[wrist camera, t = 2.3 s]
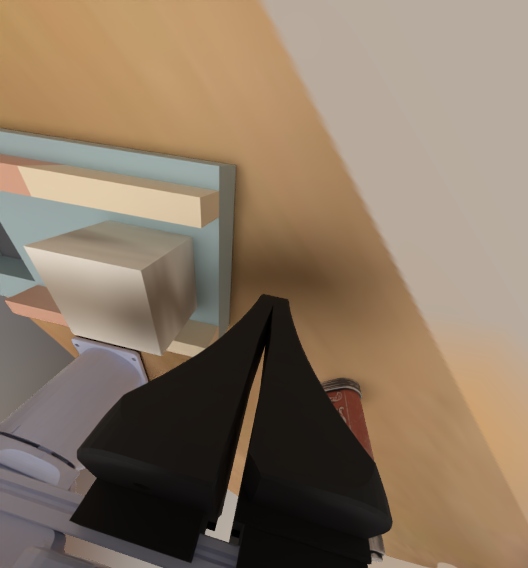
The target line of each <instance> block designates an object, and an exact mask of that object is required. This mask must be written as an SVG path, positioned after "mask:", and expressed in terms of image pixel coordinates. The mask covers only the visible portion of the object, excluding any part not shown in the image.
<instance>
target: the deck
mask: <svg viewBox="0 0 528 568" xmlns="http://www.w3.org/2000/svg"><path fill="white" fill-rule="evenodd" d="M235 178H236V165H232V164H225V163H219V162H213V161H206V160H200V159H194V158H187V157H181V156H175V155H168V154H162V153H156V152H149V151H143V150H137V149H130V148H124V147H117V146H111V145H105V144H98V143H92V142H86V141H79V140H73V139H67V138H60V137H54V136H48V135H41V134H35V133H29V132H22V131H16V130H9V129H3V128H0V295H3V296H7V297H10V298H8V299H6V300H5V302H6V303H7V304H8V306H9V307H10V308H11V310H12V311H13V313H15V314H19V315H23V316H27V317H31V318H35V319H39V320H43V321H47V322H52V323H56V324H60V325H64V326H68V324H67V322H66V321H65V319H64V317H63V315H62V314H61V312H60V310H59V308H58V306H57V305H56V303H55V301H54V299H53V298H52V296H51V294H50V292H49V291H48V289H47V287H46V285H45V284H44V282H43V280H42V278H41V276H40V275H39V273H38V271H37V269H36V268H35V266H34V264H33V262H32V261H31V259H30V257H29V255H28V254H27V252H26V250H25V248H24V245H28V244H31V243H34V242H38V241H41V240H44V239H48V238H51V237H54V236H58V235H61V234H64V233H68V232H71V231H74V230H78V229H81V228H84V227H88V226H91V225H94V224H98V223H101V222H104V221H108V220H109V221H114V222H119V223H124V224H129V225H135V226H140V227H145V228H150V229H156V230H161V231H166V232H171V233H176V234H182V235H187V236H192V238H193V252H194V266H195V280H196V294H197V307H198V308H197V309H196V310H195V312H194V313H193V314H192V316H191V317H190V318H189V320H188V321H187V322H186V324H185V325H184V326H183V328H182V329H181V331H180V332H179V333H178V335H177V336H176V337H175V339H174V340H173V341H172V343H171V344H170V345H169V347H168V348H167V349H166V351H170V352H174V353H178V354H182V355H186V356H191V357H194V356H195V355H197V354H198V353H200V352H201V351H203V350H204V349H206V348H207V347H208V346H210V345H211V344H213V343H214V342H215V341H216V340H218V339H219V338H220V337H222V336H223V335H224V334H225V332H226V330H227V328H228V326H229V318H230V294H231V271H232V248H233V224H234V201H235ZM68 327H69V326H68Z"/></svg>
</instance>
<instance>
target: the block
mask: <svg viewBox="0 0 528 568" xmlns="http://www.w3.org/2000/svg"><path fill="white" fill-rule="evenodd" d="M24 248H25V250H26V252H27V254H28V255H29V257H30V259H31V261H32V262H33V264H34V266H35V268H36V269H37V271H38V273H39V275H40V276H41V278H42V280H43V282H44V284H45V285H46V287H47V289H48V291H49V292H50V294H51V296H52V298H53V299H54V301H55V303H56V305H57V306H58V308H59V310H60V312H61V314H62V315H63V317H64V319H65V321H66V322H67V324H68V326H69V328H70V329H71V331H72V333H73V334H74V335H78V336H82V337H86V338H90V339H94V340H98V341H102V342H106V343H110V344H114V345H118V346H123V347H127V348H131V349H135V350H139V351H143V352H147V353H151V354H155V355H159V356H162V355H163V353H164V352H165V351H166V349H167V348H168V347H169V345H170V344H171V343H172V341H173V340H174V339H175V337H176V336H177V335H178V333H179V332H180V331H181V329H182V328H183V326H184V325H185V324H186V322H187V321H188V320H189V318H190V317H191V316H192V314H193V313H194V312H195V310H196V309H197V308H198V307H197V294H196V280H195V266H194V252H193V238H192V236H187V235H182V234H176V233H171V232H166V231H161V230H156V229H150V228H145V227H140V226H135V225H129V224H124V223H119V222H114V221H109V220H108V221H104V222H101V223H98V224H94V225H91V226H88V227H84V228H81V229H78V230H74V231H71V232H68V233H64V234H61V235H58V236H54V237H51V238H48V239H44V240H41V241H38V242H34V243H31V244H28V245H24Z"/></svg>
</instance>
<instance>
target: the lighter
mask: <svg viewBox="0 0 528 568" xmlns="http://www.w3.org/2000/svg"><path fill="white" fill-rule="evenodd" d="M320 384H321V385H322V387H323V388H324V390H325V392H326V393H327V395H328V397H329V398H330V400H331V401H332V403H333V405H334V406H335V408H336V409H337V411H338V412H339V414H340V415H341V417H342V418H343V420H344V421H345V423H346V424H347V425H348V427H349V428H350V430H351V431H352V432H353V434H354V435H355V437H356V438H357V439H358V441H359V442H360V443H361V445H362V446H363V447H364V449H365V450H366V451H367V453H368V454H369V455H370V457H371V458H372V459H373V461H374V457H373V453H372V449H371V444H370V440H369V435H368V431H367V427H366V422H365V418H364V413H363V409H362V405H361V398H362V395H361V391H360V387H359V384H358V383H357V382H355V381H354V380H352V379H349V378H339V379H334V380H330V381H326V382H322V383H320ZM369 545H370V551H371V557H372V561H378V562H383V559H382V556H386V555H385V550H384V545H383V540H382V535H378V536H375V537H372V538H369Z"/></svg>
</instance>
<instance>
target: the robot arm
mask: <svg viewBox="0 0 528 568" xmlns="http://www.w3.org/2000/svg"><path fill="white" fill-rule="evenodd" d="M72 342H73V344H74V346H75V348H76V349H77V351H78V353H79V354H80V355H79V356H78V357H77V358H76V359H75V360H74V361H73V362H71V363H70V364H69V365H68V366H67V367H66V368H64V369H63V370H62V371H61V372H60V373H59V374H58V375H56V376H55V377H54V378H53V379H52V380H50V381H49V382H48V383H47V384H46V385H45V386H44V387H42V388H41V389H40V390H39V391H38V392H37V393H35V394H34V395H33V396H32V397H31V398H29V399H28V400H27V401H26V402H25V403H24V404H22V405H21V406H20V407H19V408H18V409H17V410H16V411H14V412H13V413H12V414H11V415H10V416H8V417H7V418H6V419H5V420H4V421H3V422H1V423H0V568H110V567H108V566H105V565H103V564H100V563H98V562H95V561H92V560H89V559H86V558H82V557H79V556H75V555H72V554H68V553H65V551H64V545H65V542H66V537H65V534H68V535H71V536H73V537H76V538H79V539H82V540H85V541H88V542H91V543H94V544H97V545H100V546H102V547H105V548H108V549H111V550H114V551H117V552H120V553H122V554H125V555H128V556H131V557H134V558H137V559H140V560H143V561H146V562H148V563H151V564H154V565H157V566H160V567H163V568H368V565H367V564H371V562H372V557H371V551H370V545H369V538H372V537H375V536H378V535H381V534H384V533H386V532H388V531H389V530H390V529H391V527H392V522H393V521H392V517H391V513H390V509H389V505H388V500H387V497H386V493H385V490H384V487H383V484H382V481H381V478H380V475H379V472H378V469H377V466H376V463H375V462H374V461H373V459H372V458H371V457H370V455H369V454H368V453H367V451H366V450H365V449H364V447H363V446H362V445H361V443H360V442H359V441H358V439H357V438H356V437H355V435H354V434H353V432H352V431H351V430H350V428H349V427H348V425H347V424H346V423H345V421H344V420H343V418H342V417H341V415H340V414H339V412H338V411H337V409H336V408H335V406H334V405H333V403H332V401H331V400H330V398H329V397H328V395H327V393H326V392H325V390H324V388H323V387H322V385H321V384H320V382H319V380H318V378H317V376H316V375H315V373H314V371H313V369H312V367H311V365H310V363H309V361H308V359H307V357H306V355H305V352H304V350H303V348H302V345H301V343H300V340H299V338H298V335H297V332H296V329H295V326H294V323H293V320H292V316H291V311H290V306H289V301H288V299H284V298H279V297H275V296H270V295H265V294H263V295H261V296H260V298H259V299H258V301H257V302H256V303H255V304H254V306H253V307H252V308H251V309H250V310H249V311H248V312H247V313H246V314H245V315H244V317H243V318H242V319H241V320H240V321H239V322H237V323H236V324H235V325H234V326H233V327H232V328H231V329H230V330H229V331H228V332H226V333H225V334H224V335H223V336H222V337H220V338H219V339H218V340H216V341H215V342H214V343H213V344H211V345H210V346H208V347H207V348H206V349H204V350H203V351H201V352H200V353H198V354H197V355H195V356H194V357H192V358H191V359H189V360H187V361H186V362H184V363H182V364H181V365H179V366H177V367H175V368H174V369H172V370H170V371H169V372H167V373H165V374H163V375H161V376H160V377H158V378H156V379H154V380H152V381H150V382H148V379H147V376H146V373H145V370H144V367H143V364H142V361H141V358H140V355H139V353H137V352H136V351H132V350H128V349H124V348H120V347H116V346H112V345H108V344H104V343H100V342H96V341H92V340H88V339H84V338H80V337H74V338H73V339H72ZM265 344H266V345H265ZM264 347H265V353H264V361H263V370H262V378H261V386H260V393H259V399H258V404H257V409H256V413H255V418H254V423H253V428H252V433H251V438H250V443H249V448H248V452H247V457H246V462H245V467H244V472H243V477H242V482H241V487H240V491H239V496H238V502H237V506H236V511H235V516H234V521H233V526H232V530H231V535H230V540H229V543H228V542H225V541H222V540H219V539H216V538H213V537H210V536H207V535H205V531H206V529H209V530H213V531H215V528H216V524H217V520H218V517H219V516H220V515H221V514H222V509H223V506H224V501H225V497H226V493H227V488H228V484H229V479H230V475H231V471H232V466H233V462H234V458H235V454H236V449H237V445H238V441H239V436H240V432H241V428H242V424H243V419H244V415H245V411H246V407H247V403H248V398H249V394H250V391H251V387H252V384H253V381H254V378H255V375H256V372H257V369H258V366H259V363H260V360H261V357H262V354H263V350H264ZM84 468H87V469H88V470H89V471H90V472H91V473H92V474H93V475H94V476H95V477H97V479H96V480H95V482H94V483H93V485H92V486H91V488H90V489H89V491H88V492H87V494H86V495H85V496H84V495H81V494H78V493H76V488H77V483H76V482H75V480H76V478H77V477H78V475H79V474H80V472H79V471H78V470H82V469H84ZM63 533H65V534H63Z"/></svg>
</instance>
